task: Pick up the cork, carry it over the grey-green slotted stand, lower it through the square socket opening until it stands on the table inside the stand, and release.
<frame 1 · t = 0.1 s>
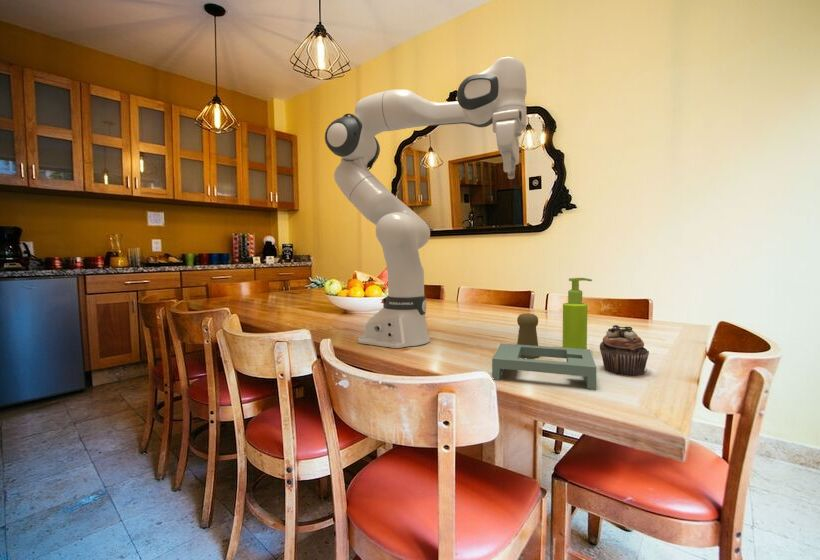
hand: (509, 175, 101), 48 cm above the table, fingers open, 8 cm apart
cupcake: (623, 371, 84), on the table
soap dispenser: (576, 354, 99), on the table
grey-green slotted stand: (542, 373, 83), on the table
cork: (527, 356, 97), on the table
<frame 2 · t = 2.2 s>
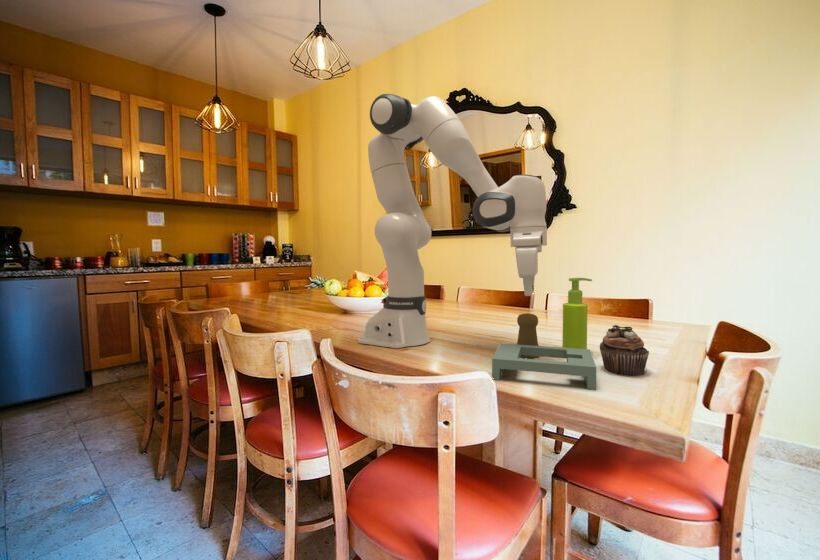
hand: (529, 293, 96), 16 cm above the table, fingers open, 8 cm apart
nothing on the table moved.
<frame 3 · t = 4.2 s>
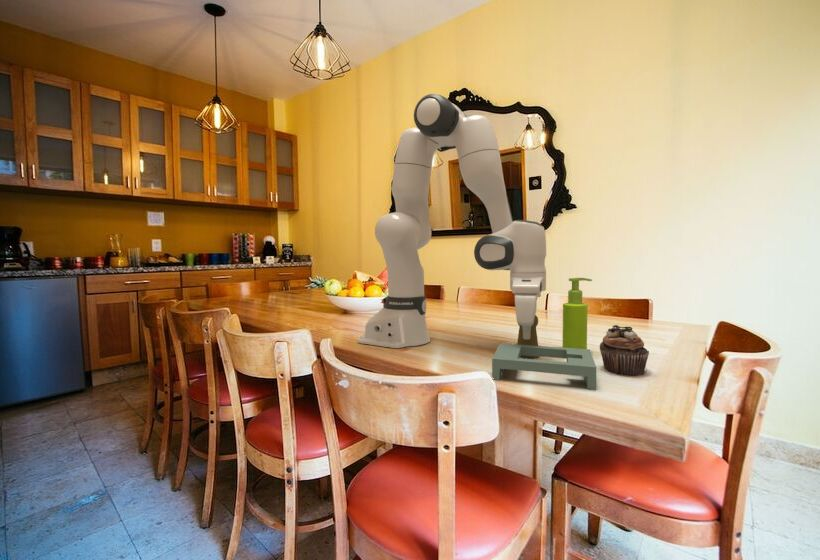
hand: (527, 336, 97), 5 cm above the table, fingers closed on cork, 4 cm apart
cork: (527, 356, 97), on the table, touching gripper
everything else where it was.
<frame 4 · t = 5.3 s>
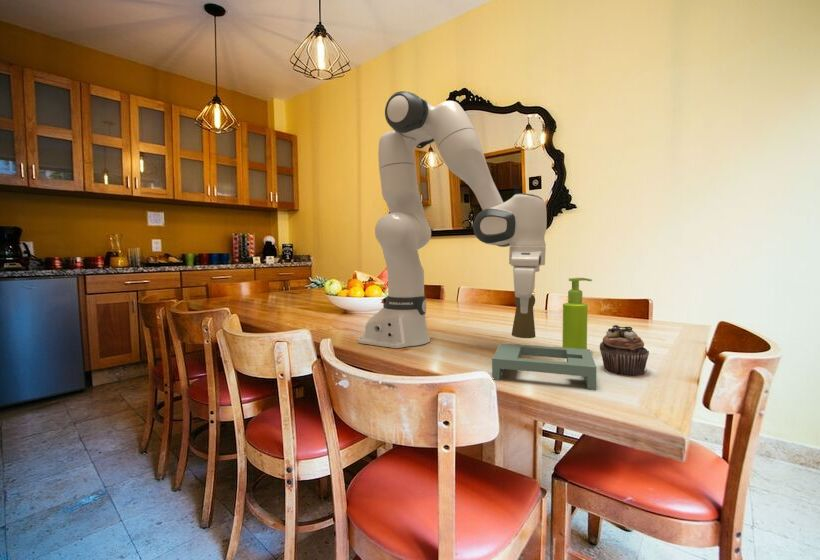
hand: (524, 311, 97), 12 cm above the table, fingers closed on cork, 4 cm apart
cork: (523, 336, 98), point 5 cm above the table, touching gripper
everything else where it was.
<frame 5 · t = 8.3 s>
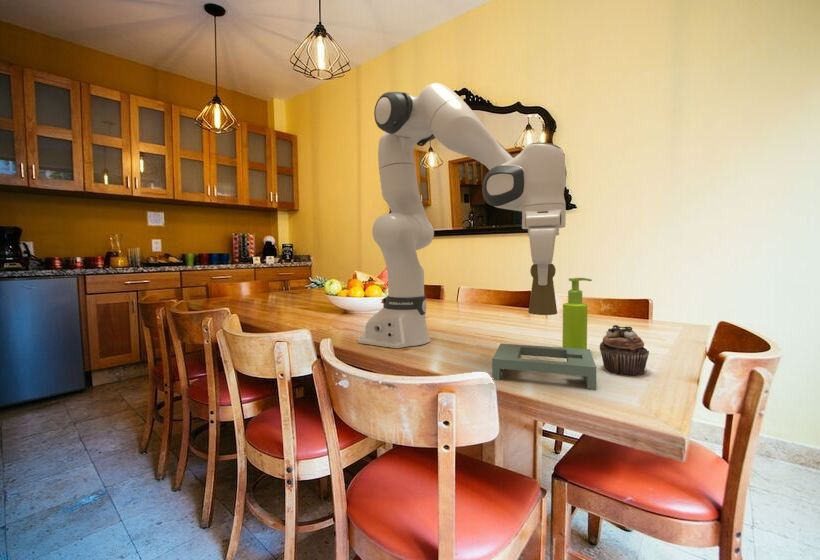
hand: (543, 284, 82), 20 cm above the table, fingers closed on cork, 4 cm apart
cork: (542, 313, 82), point 13 cm above the table, touching gripper
everything else where it was.
when the fingers open (7 cm above the table, at t = 11.4 s): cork stays where it is, on the table.
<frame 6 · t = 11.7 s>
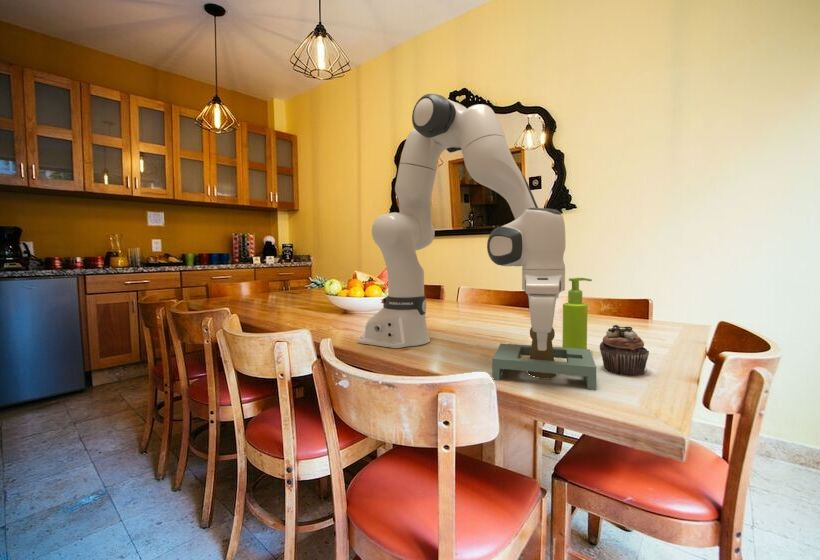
hand: (542, 344, 83), 7 cm above the table, fingers open, 8 cm apart
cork: (541, 374, 83), on the table
everything else where it was.
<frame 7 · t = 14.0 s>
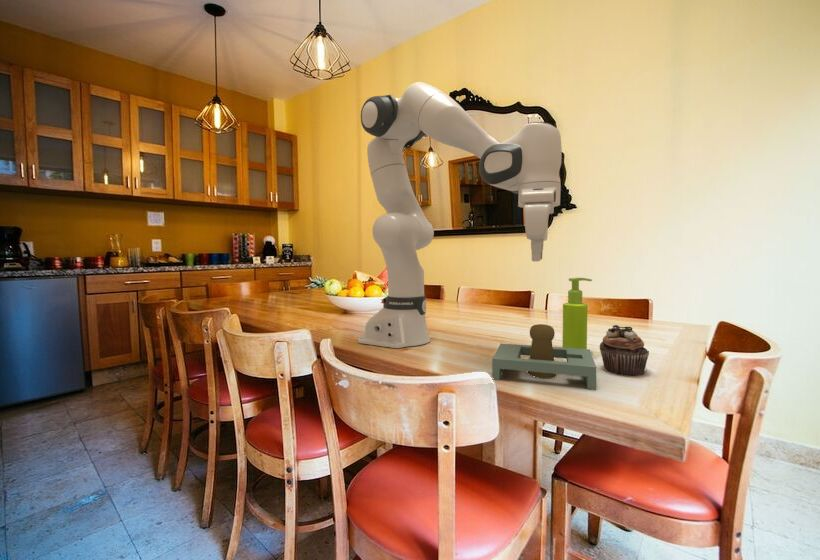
hand: (537, 260, 84), 25 cm above the table, fingers open, 8 cm apart
nothing on the table moved.
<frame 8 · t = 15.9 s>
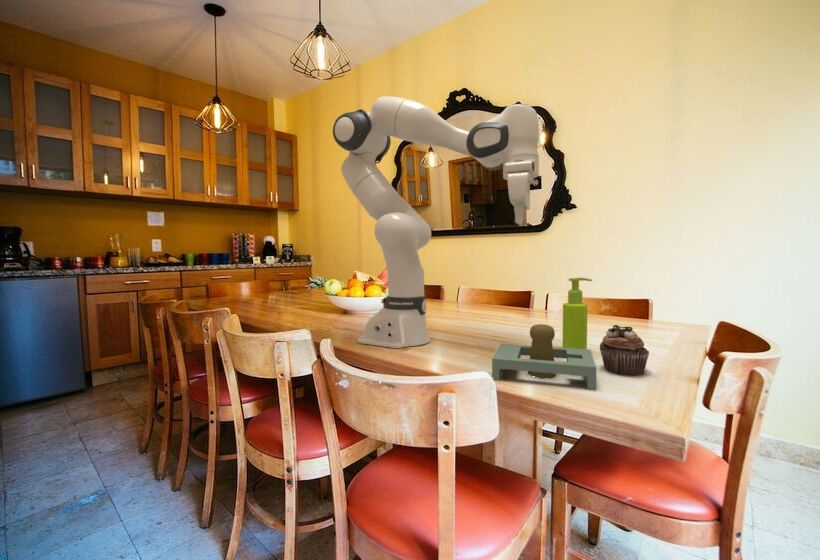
hand: (520, 224, 97), 34 cm above the table, fingers open, 8 cm apart
nothing on the table moved.
at the end: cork inside the target area on the grey-green slotted stand (0.3 cm from its centre), point 0.0 cm above the grey-green slotted stand's base; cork tilted 0°; the gripper is holding nothing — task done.
